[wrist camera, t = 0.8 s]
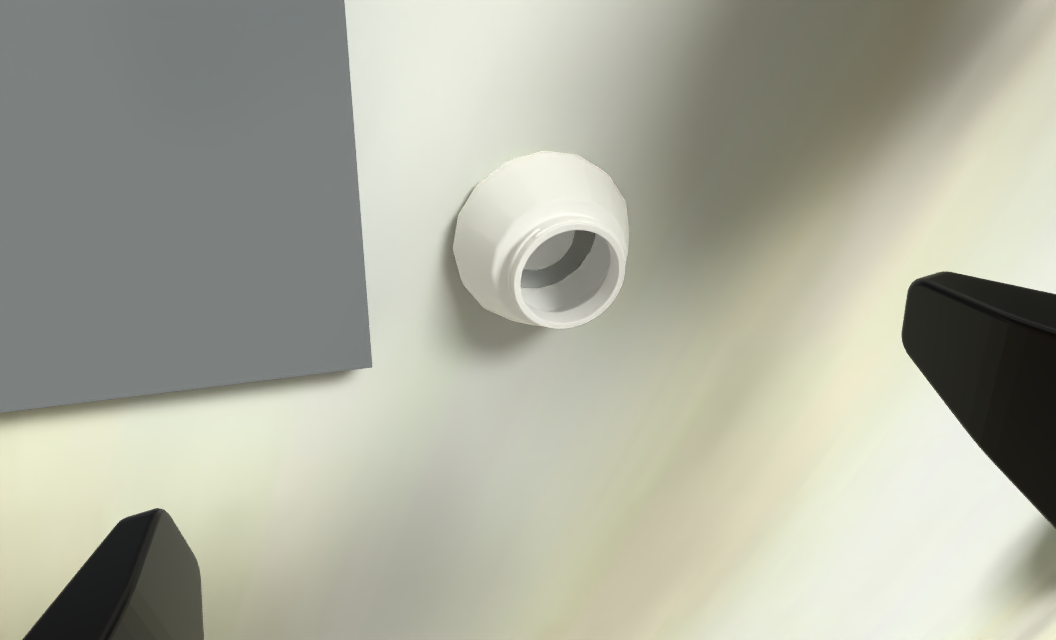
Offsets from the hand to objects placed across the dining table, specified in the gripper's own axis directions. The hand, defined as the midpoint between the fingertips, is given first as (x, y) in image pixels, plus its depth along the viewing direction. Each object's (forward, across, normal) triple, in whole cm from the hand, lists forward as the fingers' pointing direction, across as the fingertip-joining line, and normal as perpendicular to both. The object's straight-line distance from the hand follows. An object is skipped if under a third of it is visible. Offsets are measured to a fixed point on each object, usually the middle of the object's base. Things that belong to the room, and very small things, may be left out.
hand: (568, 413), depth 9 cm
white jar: (+13, -3, +4) cm, 14 cm away
